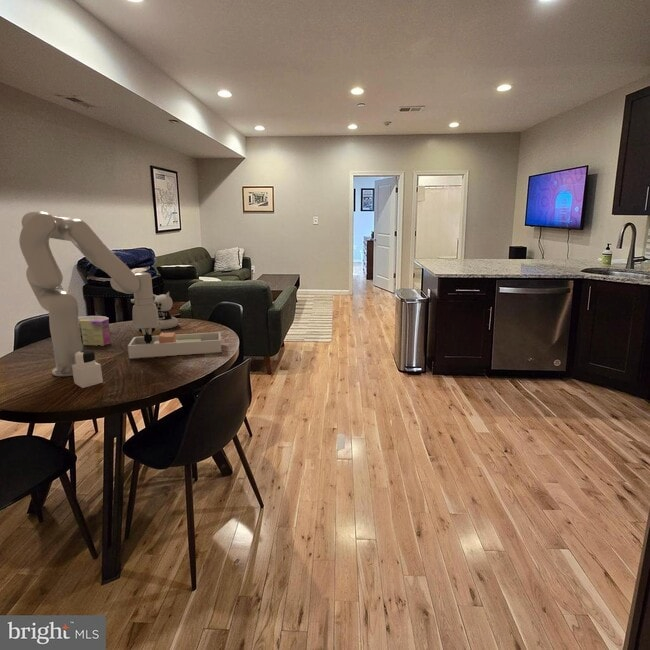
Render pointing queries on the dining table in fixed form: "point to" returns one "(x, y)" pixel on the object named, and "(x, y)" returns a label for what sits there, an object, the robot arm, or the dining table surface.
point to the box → (95, 331)
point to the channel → (175, 345)
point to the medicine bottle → (86, 369)
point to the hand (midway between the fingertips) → (148, 342)
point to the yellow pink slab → (91, 318)
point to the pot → (148, 331)
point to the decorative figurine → (165, 311)
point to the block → (167, 337)
